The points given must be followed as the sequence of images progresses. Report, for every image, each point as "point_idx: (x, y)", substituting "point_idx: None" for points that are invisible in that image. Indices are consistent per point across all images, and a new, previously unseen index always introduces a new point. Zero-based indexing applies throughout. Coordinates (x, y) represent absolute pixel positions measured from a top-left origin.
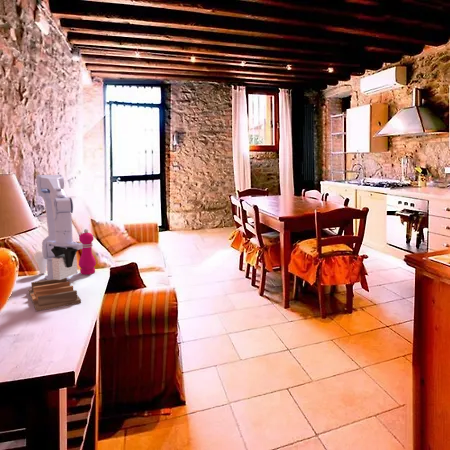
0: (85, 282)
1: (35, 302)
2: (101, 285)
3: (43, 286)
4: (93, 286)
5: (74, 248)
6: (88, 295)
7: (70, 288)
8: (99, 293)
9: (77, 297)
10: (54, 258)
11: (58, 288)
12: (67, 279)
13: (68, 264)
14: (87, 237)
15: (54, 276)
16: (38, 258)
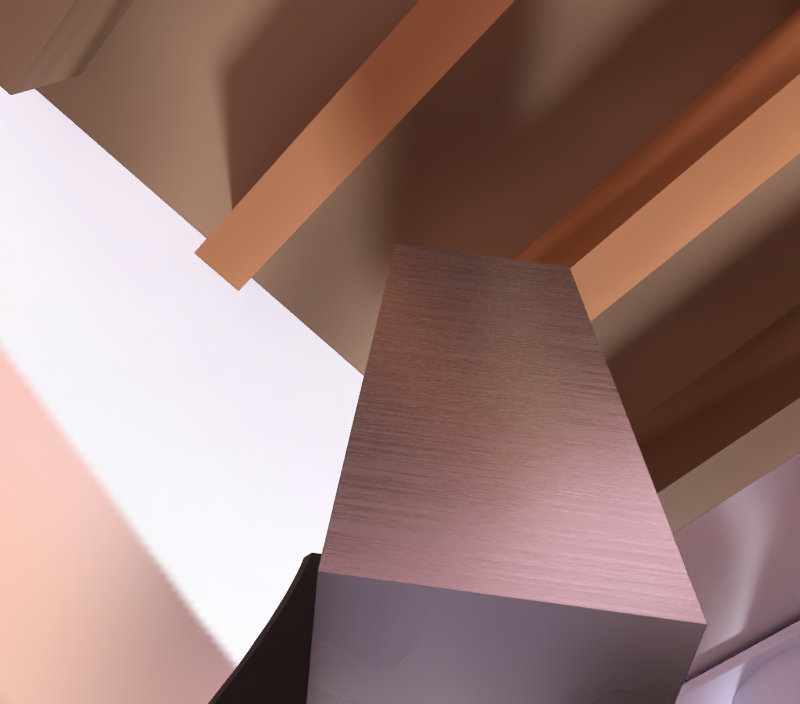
0: None
1: None
2: (207, 607)
3: (718, 143)
4: (271, 569)
5: None
6: (119, 308)
7: (229, 213)
8: (45, 394)
9: (87, 107)
10: (558, 593)
11: (364, 95)
12: (688, 686)
13: (277, 611)
14: None
15: (539, 285)
16: None
